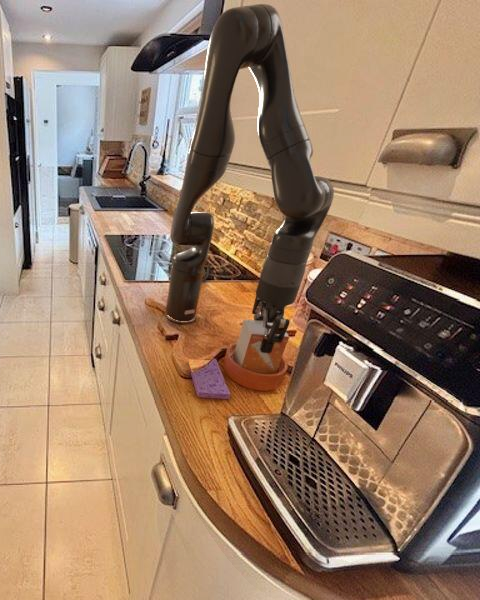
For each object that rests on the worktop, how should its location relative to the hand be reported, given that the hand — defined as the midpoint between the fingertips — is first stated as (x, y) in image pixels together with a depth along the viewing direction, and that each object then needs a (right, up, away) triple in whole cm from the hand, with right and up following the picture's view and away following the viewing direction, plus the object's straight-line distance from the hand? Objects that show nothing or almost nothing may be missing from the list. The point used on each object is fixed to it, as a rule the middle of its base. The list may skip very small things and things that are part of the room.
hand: (260, 342), depth 76 cm
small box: (0, -8, +4) cm, 9 cm away
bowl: (0, -8, +4) cm, 9 cm away
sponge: (-12, -10, +3) cm, 15 cm away
